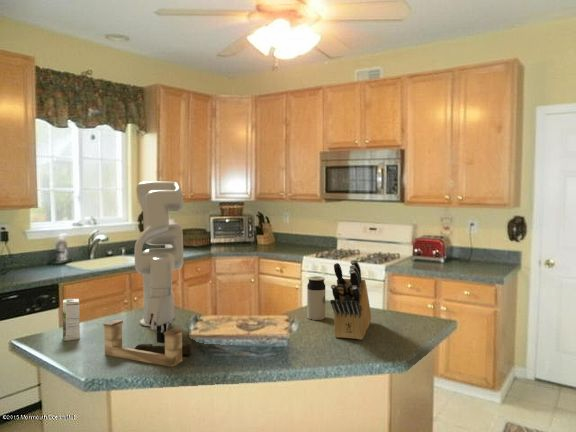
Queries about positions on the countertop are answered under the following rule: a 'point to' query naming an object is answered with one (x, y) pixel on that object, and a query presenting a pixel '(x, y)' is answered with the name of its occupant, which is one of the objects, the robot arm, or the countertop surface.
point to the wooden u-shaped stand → (115, 349)
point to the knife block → (350, 304)
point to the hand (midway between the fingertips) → (162, 342)
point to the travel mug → (316, 298)
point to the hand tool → (162, 348)
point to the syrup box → (71, 319)
